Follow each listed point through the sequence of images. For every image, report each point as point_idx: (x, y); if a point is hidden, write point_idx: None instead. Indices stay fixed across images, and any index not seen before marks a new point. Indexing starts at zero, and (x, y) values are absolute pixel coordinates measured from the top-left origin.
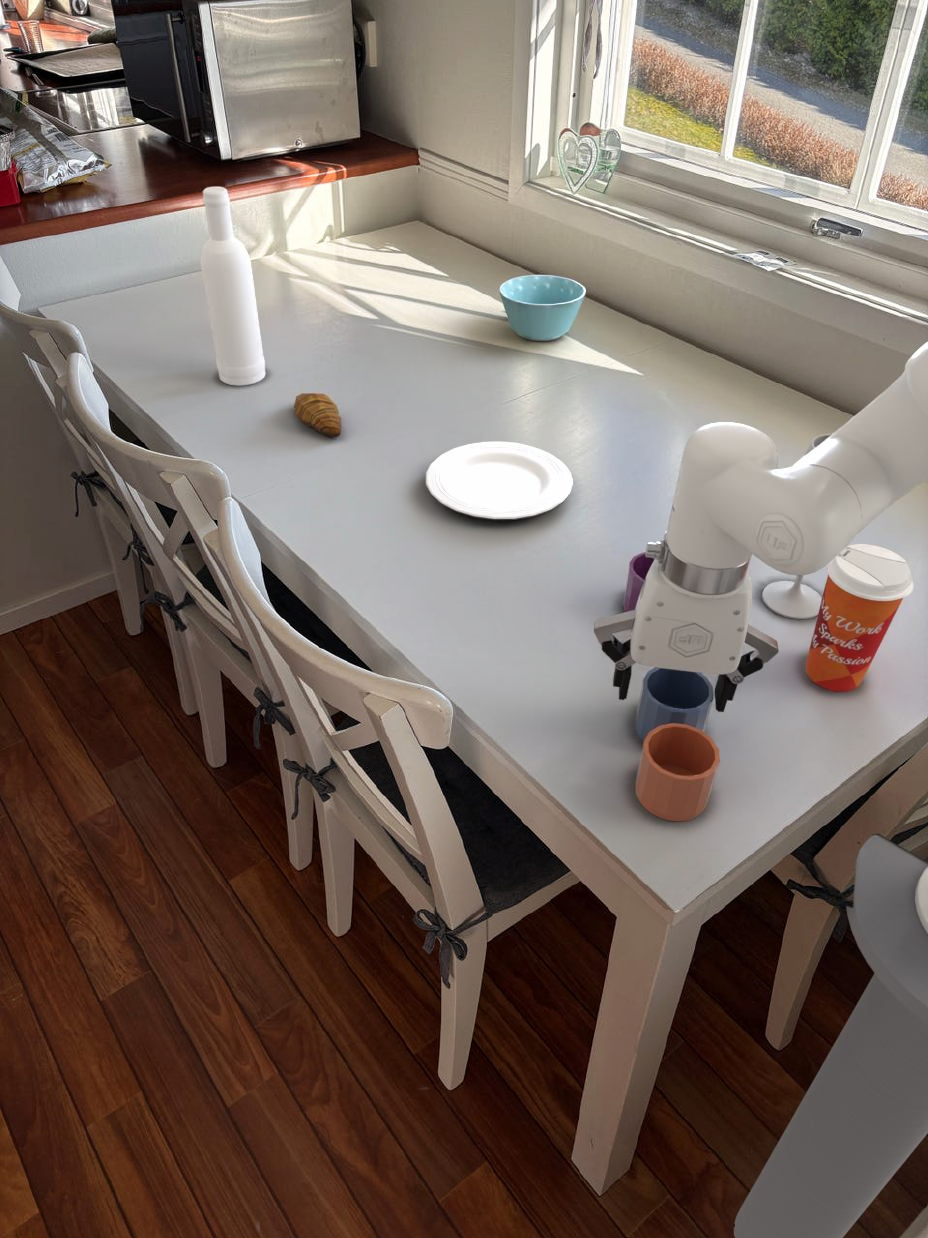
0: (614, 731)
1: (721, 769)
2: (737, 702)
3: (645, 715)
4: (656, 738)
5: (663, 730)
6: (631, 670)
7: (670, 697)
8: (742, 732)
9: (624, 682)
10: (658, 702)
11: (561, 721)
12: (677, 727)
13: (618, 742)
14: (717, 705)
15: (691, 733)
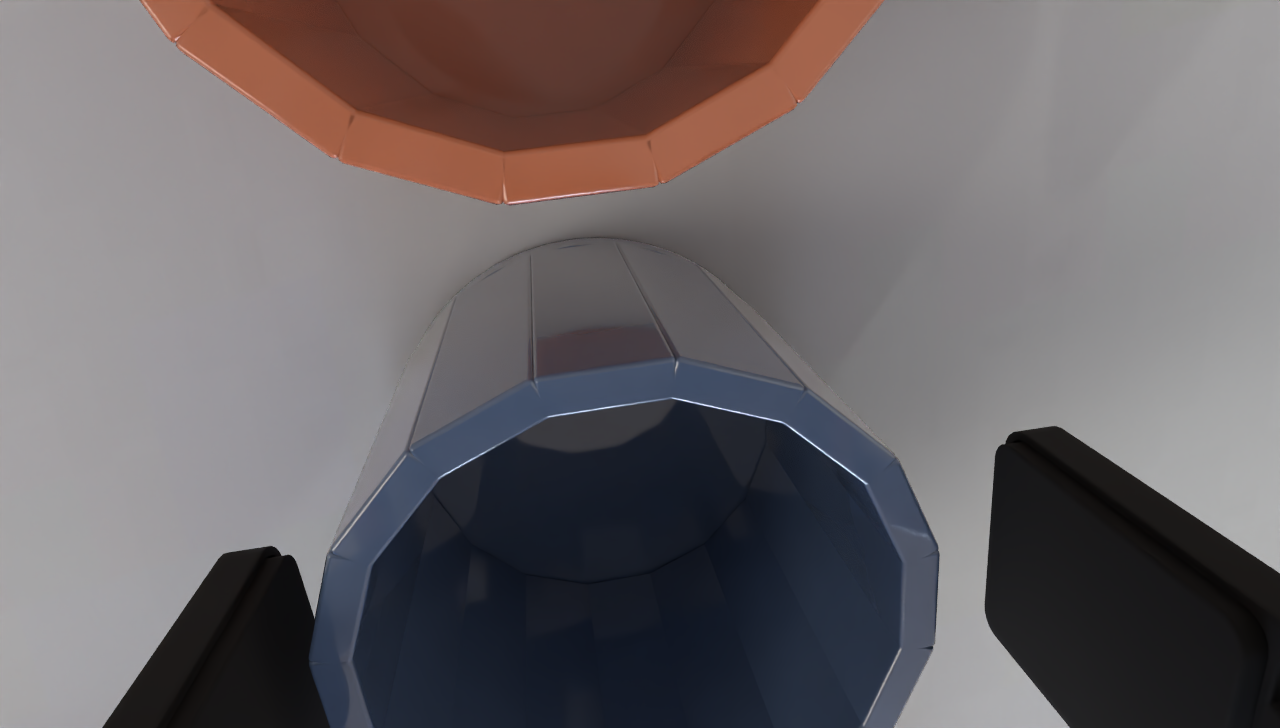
0: (885, 321)
1: (237, 201)
2: None
3: (814, 372)
4: (777, 16)
5: (743, 71)
6: (1239, 672)
7: (624, 614)
8: (183, 524)
9: (1193, 530)
10: (810, 430)
11: (1154, 310)
12: (603, 143)
13: (863, 246)
14: (275, 590)
15: (442, 129)
